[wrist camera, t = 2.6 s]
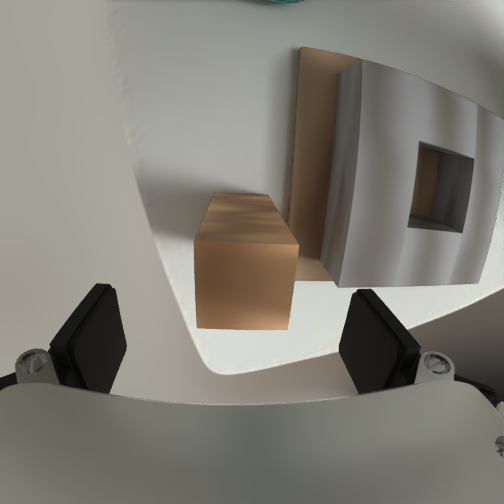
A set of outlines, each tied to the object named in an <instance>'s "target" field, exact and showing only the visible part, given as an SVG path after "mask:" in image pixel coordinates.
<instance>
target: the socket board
mask: <svg viewBox="0 0 504 504" xmlns="http://www.w3.org/2000/svg"><path fill="white" fill-rule="evenodd" d="M503 171H504V120H503V119H502V118H500V117H499V116H497V115H495V114H494V113H492V112H490V111H488V110H487V109H485V108H483V107H481V106H479V105H478V104H476V103H474V102H472V101H470V100H468V99H466V98H464V97H462V96H460V95H458V94H456V93H454V92H452V91H450V90H447V89H445V88H443V87H441V86H438V85H436V84H434V83H431V82H429V81H427V80H424V79H421V78H419V77H416V76H414V75H411V74H408V73H405V72H403V71H400V70H397V69H394V68H391V67H388V66H384V65H381V64H378V63H374V62H371V61H367V60H364V59H360V58H356V57H352V56H348V55H343V54H339V53H334V52H330V51H325V50H319V49H314V48H308V47H301V48H300V50H299V65H298V86H297V104H296V121H295V136H294V150H293V163H292V176H291V188H290V200H289V211H288V222H287V226H288V228H289V229H290V231H291V233H292V234H293V236H294V237H295V239H296V241H297V242H298V244H299V250H298V258H297V266H296V274H295V281H334V282H335V284H336V285H337V287H338V288H348V287H406V286H436V285H458V284H477V283H479V280H480V277H481V274H482V271H483V268H484V264H485V261H486V258H487V254H488V250H489V247H490V243H491V239H492V235H493V230H494V226H495V221H496V216H497V211H498V206H499V200H500V194H501V187H502V180H503Z"/></svg>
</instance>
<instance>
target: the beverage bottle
mask: <svg viewBox="0 0 504 504" xmlns="http://www.w3.org/2000/svg"><path fill="white" fill-rule="evenodd" d="M269 1H273V2H278V3H296V2H300V1H303V0H269Z"/></svg>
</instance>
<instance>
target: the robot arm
mask: <svg viewBox="0 0 504 504" xmlns="http://www.w3.org/2000/svg"><path fill="white" fill-rule="evenodd" d="M126 348H127V344H126V339H125V334H124V330H123V325H122V321H121V316H120V311H119V305H118V300H117V294H116V290H115V288H112V287H111V285H110V284H100V283H99V284H98V283H97V284H96V285H94V287H93V288H92V289H91V290H90V292H89V293H88V294H87V295H86V297H85V298H84V299H83V300H82V301H81V303H80V304H79V305H78V307H77V308H76V309H75V310H74V312H73V313H72V314H71V316H70V317H69V318H68V320H67V321H66V322H65V323H64V325H63V326H62V328H61V329H60V330H59V332H58V333H57V334H56V336H55V337H54V339H53V340H52V341H51V343H50V349H49V350H48V352H47V351H45V350H43V349H31V350H28V351H26V352H24V353H23V354H21V355H20V356H19V358H18V359H17V361H16V363H15V370H16V372H14V373H12V374H9V375H7V376H4V377H1V378H0V504H504V402H501V403H500V404H498V397H497V394H496V393H495V392H494V390H493V389H492V388H491V387H489V386H486V385H484V384H481V383H478V382H475V381H472V380H469V379H466V378H464V377H461V376H458V375H455V374H454V365H453V363H452V361H451V360H450V359H449V358H448V357H446V356H445V355H443V354H441V353H439V352H426V353H424V354H423V355H421V354H420V353H419V351H420V349H421V347H420V345H419V344H418V343H417V341H416V340H415V339H414V338H413V337H412V335H411V334H410V333H409V332H408V331H407V329H406V328H405V327H404V326H403V325H402V323H401V322H400V321H399V320H398V319H397V317H396V316H395V315H394V314H393V313H392V312H391V310H390V309H389V308H388V307H387V306H386V305H385V304H384V302H383V301H382V300H381V299H380V298H379V297H378V296H377V294H376V293H375V292H374V291H373V290H372V289H358V290H357V291H356V293H353V294H352V297H351V301H350V305H349V310H348V313H347V317H346V321H345V325H344V329H343V333H342V336H341V340H340V343H339V353H340V355H341V357H342V360H343V362H344V364H345V365H346V368H347V370H348V372H349V374H350V376H351V378H352V380H353V382H354V385H355V387H356V389H357V391H358V393H359V394H357V395H350V396H344V397H336V398H328V399H320V400H310V401H298V402H286V403H264V404H204V403H185V402H170V401H158V400H149V399H141V398H133V397H126V396H119V395H112V394H109V393H110V390H111V388H112V385H113V382H114V380H115V377H116V375H117V372H118V370H119V367H120V364H121V362H122V360H123V357H124V355H125V352H126Z"/></svg>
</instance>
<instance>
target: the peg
mask: <svg viewBox="0 0 504 504" xmlns="http://www.w3.org/2000/svg"><path fill="white" fill-rule="evenodd" d="M298 250H299V244H298V242H297V241H296V239H295V237H294V236H293V234H292V233H291V231H290V229H289V228H288V226H287V224H286V223H285V221H284V220H283V218H282V216H281V215H280V213H279V212H278V210H277V208H276V207H275V205H274V204H273V202H272V200H271V199H270V197H269V196H268V195H253V194H229V193H214V195H213V197H212V199H211V202H210V204H209V206H208V209H207V211H206V213H205V216H204V218H203V220H202V223H201V225H200V228H199V230H198V232H197V235H196V237H195V240H194V273H195V301H196V322H197V328H205V329H234V330H288V324H289V317H290V310H291V303H292V296H293V289H294V282H295V274H296V266H297V258H298Z"/></svg>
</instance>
